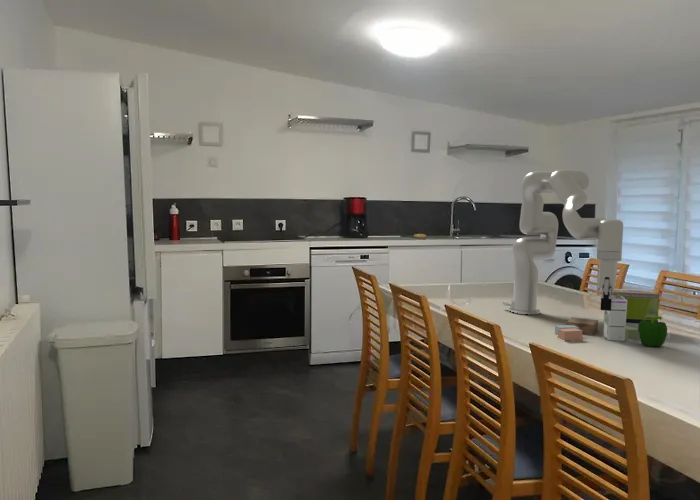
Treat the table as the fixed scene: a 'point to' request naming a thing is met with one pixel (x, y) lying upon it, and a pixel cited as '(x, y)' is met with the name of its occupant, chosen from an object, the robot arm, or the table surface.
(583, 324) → the walnut block
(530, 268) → the robot arm
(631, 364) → the table surface
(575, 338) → the terracotta brick
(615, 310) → the syrup box
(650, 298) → the tea box
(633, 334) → the olive brick
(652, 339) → the bell pepper
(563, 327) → the slate brick
